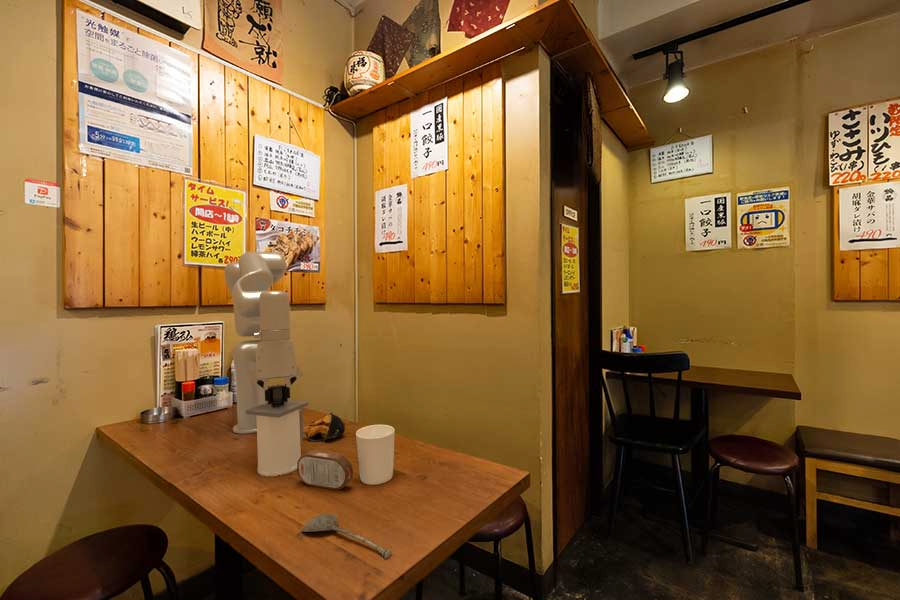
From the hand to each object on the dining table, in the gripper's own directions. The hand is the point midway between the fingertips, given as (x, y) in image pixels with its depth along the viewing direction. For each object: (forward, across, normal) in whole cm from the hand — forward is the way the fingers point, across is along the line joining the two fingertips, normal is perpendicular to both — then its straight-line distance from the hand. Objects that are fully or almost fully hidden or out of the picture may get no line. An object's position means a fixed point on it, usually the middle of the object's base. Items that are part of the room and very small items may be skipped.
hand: (277, 401), depth 107 cm
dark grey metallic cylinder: (+13, 0, 0) cm, 13 cm away
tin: (+19, +10, -17) cm, 27 cm away
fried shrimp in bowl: (+19, +11, +17) cm, 28 cm away
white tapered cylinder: (+18, +23, -18) cm, 34 cm away
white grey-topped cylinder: (+18, +1, +1) cm, 18 cm away
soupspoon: (+19, +11, -40) cm, 46 cm away
